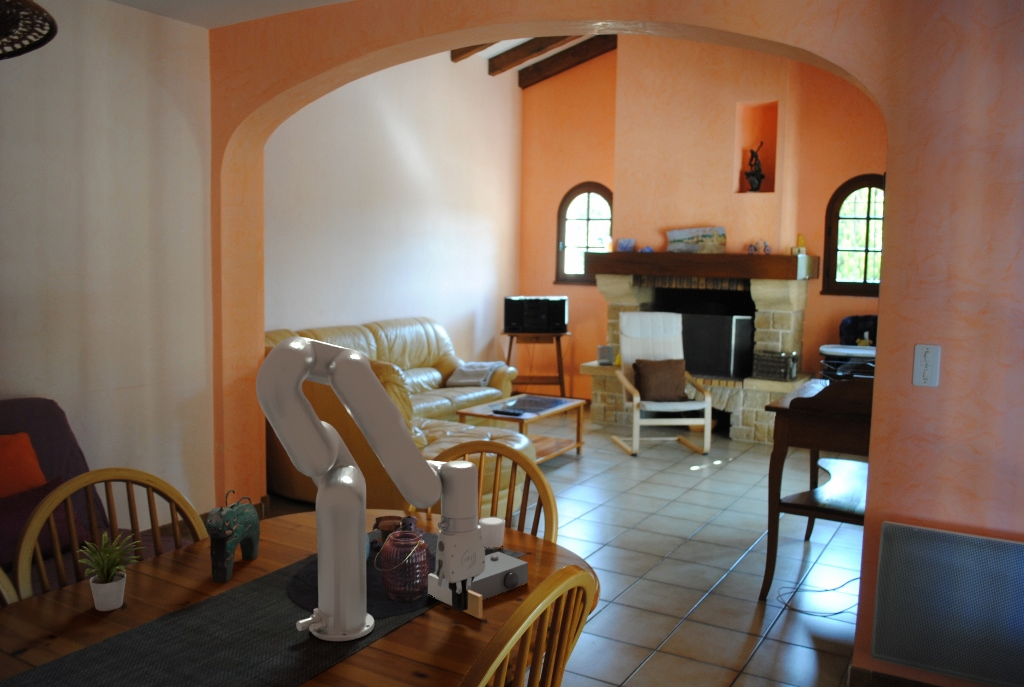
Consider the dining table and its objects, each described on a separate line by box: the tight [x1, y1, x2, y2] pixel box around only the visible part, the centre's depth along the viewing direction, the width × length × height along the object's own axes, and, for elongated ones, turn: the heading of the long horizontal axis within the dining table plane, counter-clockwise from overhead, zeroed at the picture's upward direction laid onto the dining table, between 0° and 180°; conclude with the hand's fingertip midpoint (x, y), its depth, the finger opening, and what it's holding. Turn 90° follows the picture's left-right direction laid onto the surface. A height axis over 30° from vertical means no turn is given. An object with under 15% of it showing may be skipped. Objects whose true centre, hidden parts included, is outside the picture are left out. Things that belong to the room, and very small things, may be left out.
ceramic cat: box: [206, 489, 261, 584], centre depth 203 cm, size 20×6×20 cm, turn 171°
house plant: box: [77, 530, 146, 612], centre depth 180 cm, size 14×14×16 cm
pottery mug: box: [372, 514, 403, 543], centre depth 224 cm, size 12×10×8 cm
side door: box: [427, 572, 483, 619], centre depth 183 cm, size 1×17×5 cm, turn 44°
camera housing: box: [433, 551, 529, 601], centre depth 192 cm, size 20×11×6 cm, turn 134°
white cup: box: [478, 516, 506, 548], centre depth 221 cm, size 7×7×7 cm
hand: (459, 608), depth 176 cm, fingers closed
